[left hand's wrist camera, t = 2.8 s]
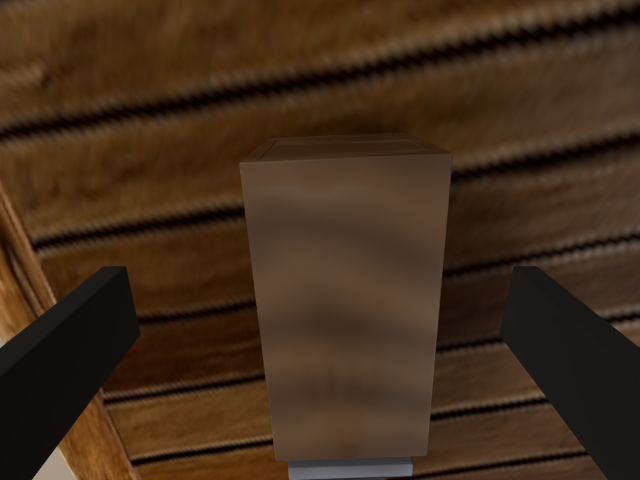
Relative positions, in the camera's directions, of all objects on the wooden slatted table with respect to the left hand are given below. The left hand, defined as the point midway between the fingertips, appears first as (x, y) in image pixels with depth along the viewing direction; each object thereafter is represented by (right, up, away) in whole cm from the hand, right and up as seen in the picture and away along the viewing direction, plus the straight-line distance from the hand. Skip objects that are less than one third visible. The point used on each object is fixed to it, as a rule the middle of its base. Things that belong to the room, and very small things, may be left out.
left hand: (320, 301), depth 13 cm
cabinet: (+2, +1, +18) cm, 18 cm away
